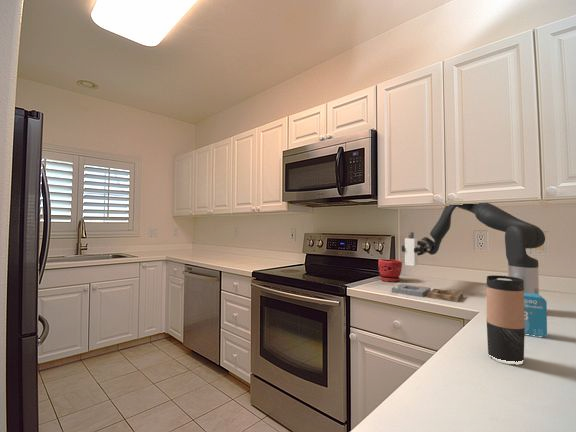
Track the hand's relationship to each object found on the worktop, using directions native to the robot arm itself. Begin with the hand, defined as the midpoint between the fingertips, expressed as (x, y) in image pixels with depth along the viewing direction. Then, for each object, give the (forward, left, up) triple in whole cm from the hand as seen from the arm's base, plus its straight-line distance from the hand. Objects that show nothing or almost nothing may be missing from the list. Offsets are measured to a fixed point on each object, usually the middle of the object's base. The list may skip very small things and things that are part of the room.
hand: (409, 250), depth 142 cm
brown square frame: (-15, -3, -21) cm, 26 cm away
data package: (-43, +30, -21) cm, 57 cm away
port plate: (0, -3, -21) cm, 21 cm away
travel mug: (-41, +55, -21) cm, 72 cm away
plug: (0, -3, -7) cm, 8 cm away
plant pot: (+19, -25, -21) cm, 37 cm away
